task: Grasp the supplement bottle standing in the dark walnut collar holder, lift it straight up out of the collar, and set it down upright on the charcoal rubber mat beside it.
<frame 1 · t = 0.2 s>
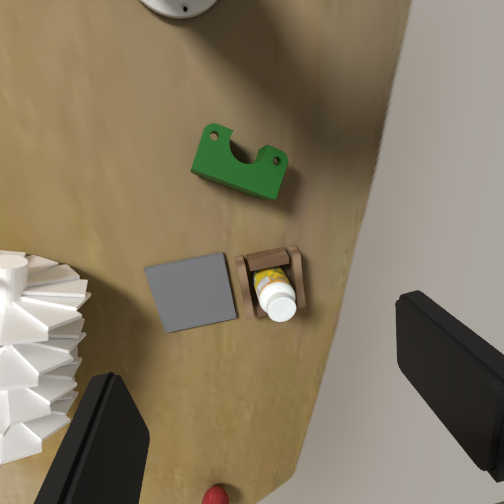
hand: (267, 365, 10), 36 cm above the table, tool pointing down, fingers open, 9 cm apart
white origami shape: (39, 311, 48), on the table
supplement bottle: (268, 276, 51), resting in collar holder
clamp: (236, 161, 43), on the table
rubber mat: (193, 292, 50), on the table
onion: (215, 484, 70), on the table
collar holder: (268, 277, 51), on the table
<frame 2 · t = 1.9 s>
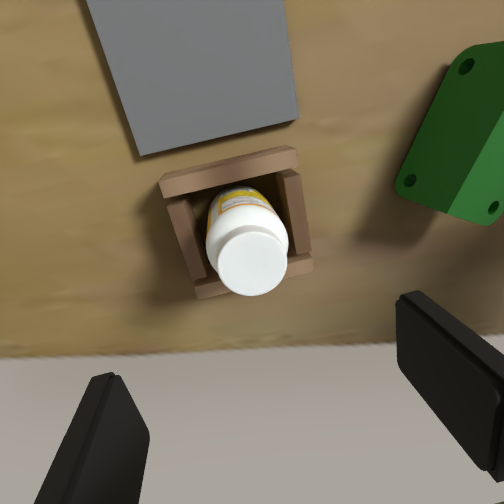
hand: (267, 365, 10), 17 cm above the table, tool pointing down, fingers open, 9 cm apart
supplement bottle: (239, 216, 26), resting in collar holder
clamp: (451, 139, 26), on the table
rubber mat: (198, 44, 21), on the table
collar holder: (239, 217, 26), on the table
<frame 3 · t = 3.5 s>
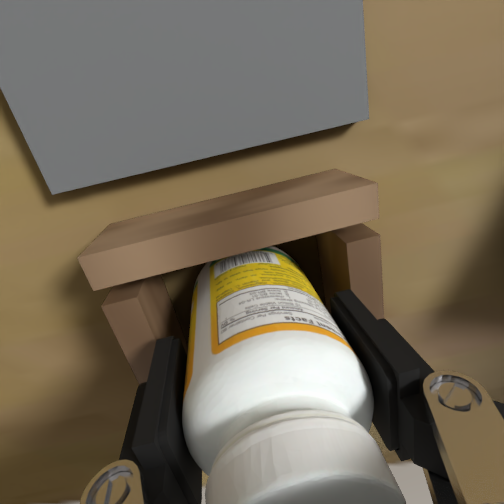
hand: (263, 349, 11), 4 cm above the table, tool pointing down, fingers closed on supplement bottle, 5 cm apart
supplement bottle: (248, 290, 15), resting in collar holder, touching gripper
collar holder: (249, 293, 15), on the table
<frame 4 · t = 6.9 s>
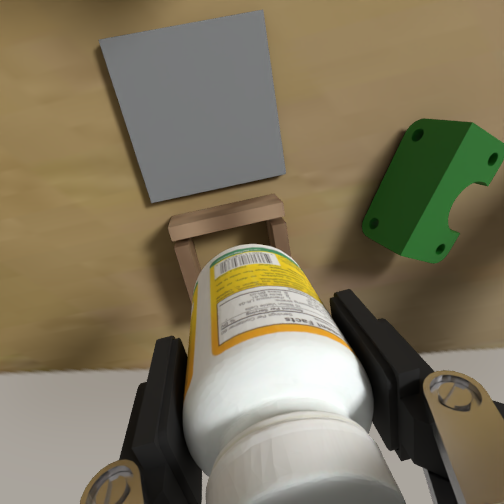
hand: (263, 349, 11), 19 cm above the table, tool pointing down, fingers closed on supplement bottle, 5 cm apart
supplement bottle: (248, 291, 15), point 15 cm above the table, touching gripper
clamp: (409, 188, 31), on the table
rubber mat: (202, 114, 25), on the table
collar holder: (234, 251, 30), on the table
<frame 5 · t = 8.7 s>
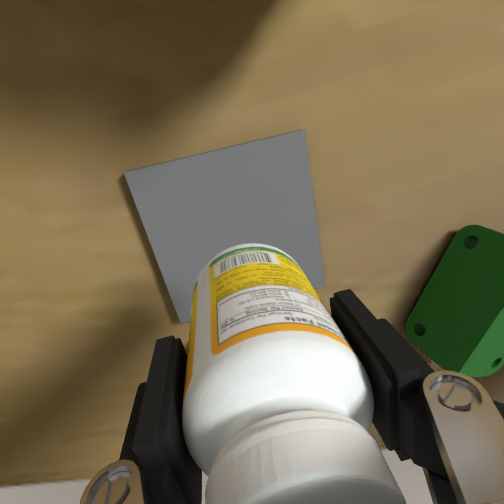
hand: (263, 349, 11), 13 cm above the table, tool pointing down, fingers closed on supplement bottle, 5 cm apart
supplement bottle: (248, 291, 15), point 9 cm above the table, touching gripper
clamp: (456, 284, 28), on the table
rubber mat: (235, 232, 23), on the table
when the fingers open (6 cm above the table, at t = 10.3 s): supplement bottle drops 1 cm, resting on rubber mat.
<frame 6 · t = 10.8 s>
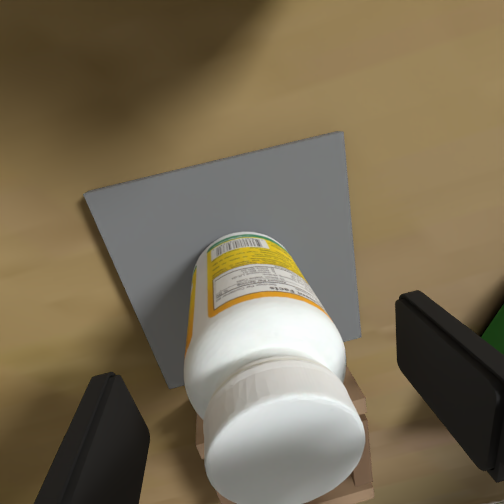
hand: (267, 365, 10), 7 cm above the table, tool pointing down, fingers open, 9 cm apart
supplement bottle: (242, 276, 16), point 1 cm above the table, touching rubber mat
rubber mat: (243, 270, 17), on the table
collar holder: (282, 423, 22), on the table
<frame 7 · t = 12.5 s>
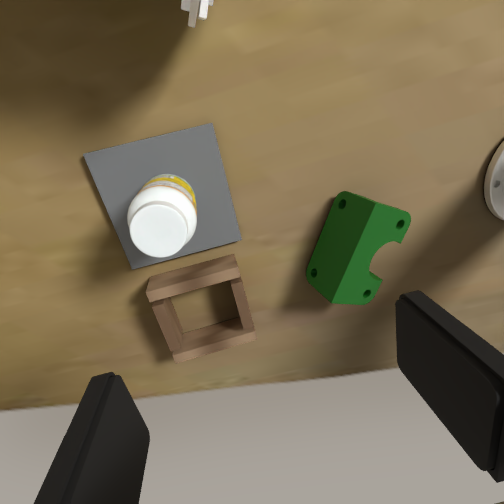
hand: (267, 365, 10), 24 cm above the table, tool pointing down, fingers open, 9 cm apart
supplement bottle: (168, 200, 31), point 1 cm above the table, touching rubber mat
clamp: (344, 240, 37), on the table
rubber mat: (170, 199, 31), on the table
collar holder: (204, 300, 36), on the table
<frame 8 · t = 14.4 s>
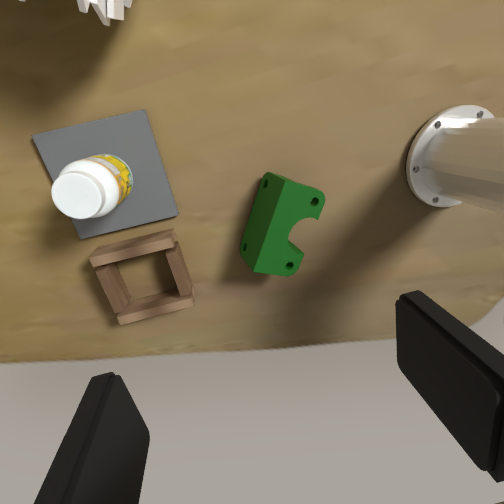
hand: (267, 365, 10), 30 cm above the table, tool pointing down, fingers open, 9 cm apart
supplement bottle: (110, 178, 35), point 1 cm above the table, touching rubber mat
clamp: (275, 218, 41), on the table
rubber mat: (112, 177, 36), on the table
collar holder: (149, 270, 41), on the table
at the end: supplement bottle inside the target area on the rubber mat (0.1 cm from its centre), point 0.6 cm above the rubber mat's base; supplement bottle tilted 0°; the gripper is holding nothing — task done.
